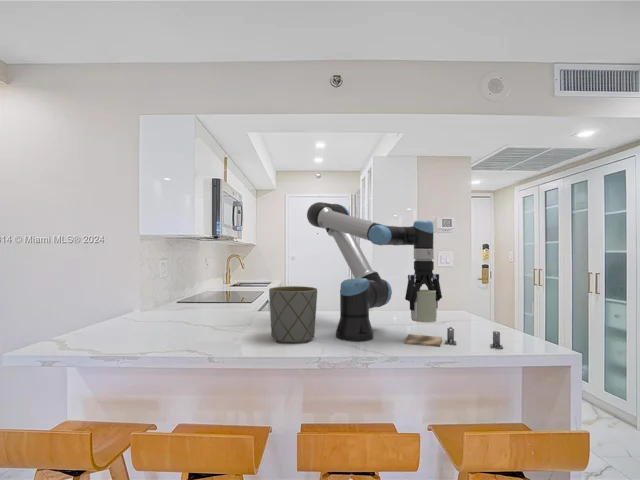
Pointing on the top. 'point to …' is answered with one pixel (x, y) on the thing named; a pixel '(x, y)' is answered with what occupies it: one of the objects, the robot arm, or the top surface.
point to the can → (426, 306)
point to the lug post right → (496, 341)
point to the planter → (293, 313)
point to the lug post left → (450, 336)
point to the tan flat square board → (423, 340)
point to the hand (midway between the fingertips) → (423, 317)
